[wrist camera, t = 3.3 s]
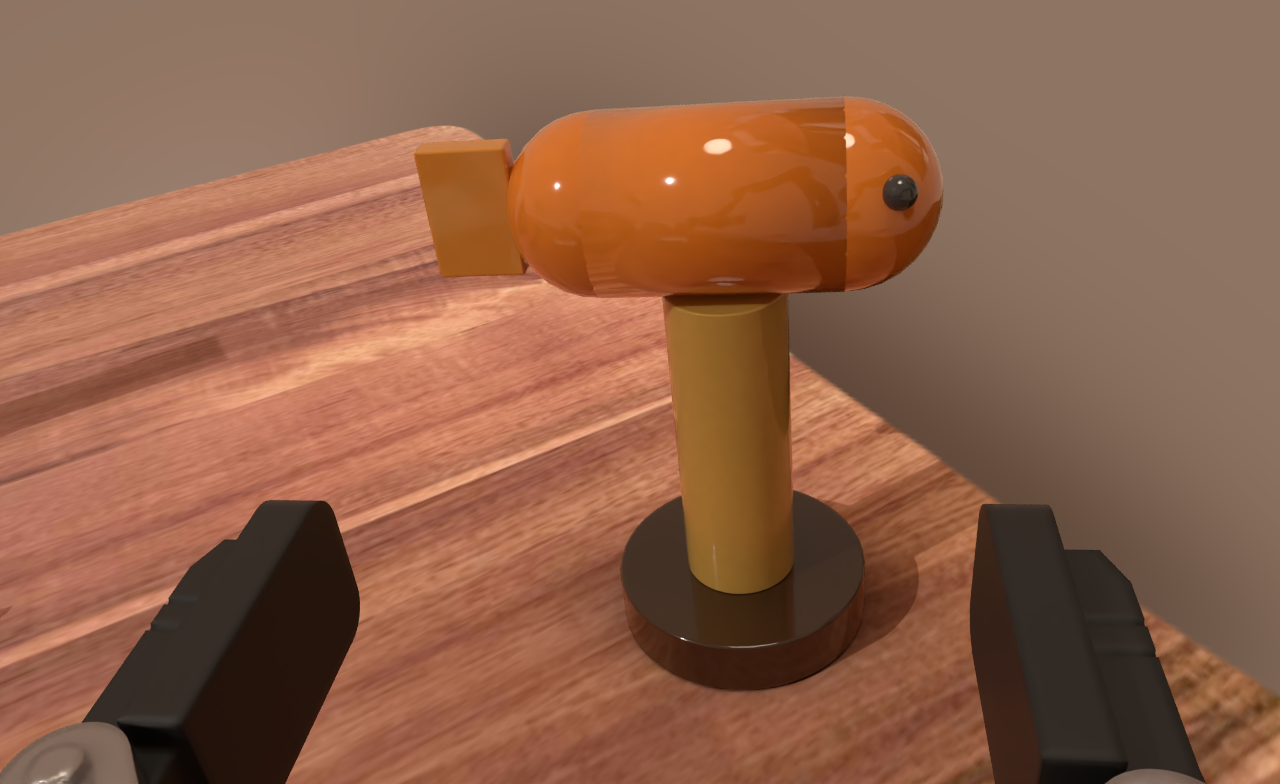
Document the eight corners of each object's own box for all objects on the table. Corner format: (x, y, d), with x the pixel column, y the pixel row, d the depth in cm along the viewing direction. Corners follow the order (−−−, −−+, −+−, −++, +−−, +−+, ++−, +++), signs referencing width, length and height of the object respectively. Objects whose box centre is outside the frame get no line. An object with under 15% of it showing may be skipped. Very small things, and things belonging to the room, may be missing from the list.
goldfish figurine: (486, 683, 27) (359, 183, 20) (538, 520, 33) (452, 77, 25) (929, 698, 26) (969, 156, 18) (908, 523, 31) (932, 48, 23)
